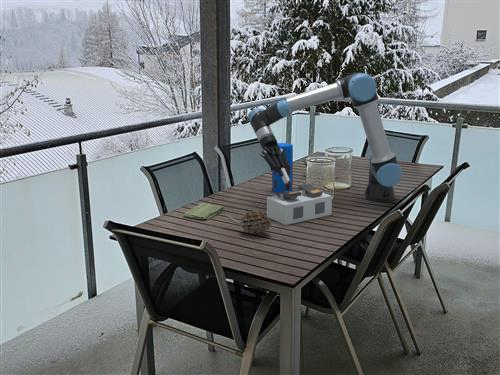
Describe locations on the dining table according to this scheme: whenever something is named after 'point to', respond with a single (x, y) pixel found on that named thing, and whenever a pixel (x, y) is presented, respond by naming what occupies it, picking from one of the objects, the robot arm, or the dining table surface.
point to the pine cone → (253, 222)
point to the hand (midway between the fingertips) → (287, 181)
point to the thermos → (277, 181)
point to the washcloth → (204, 211)
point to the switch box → (298, 207)
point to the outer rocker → (289, 194)
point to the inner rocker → (310, 190)
